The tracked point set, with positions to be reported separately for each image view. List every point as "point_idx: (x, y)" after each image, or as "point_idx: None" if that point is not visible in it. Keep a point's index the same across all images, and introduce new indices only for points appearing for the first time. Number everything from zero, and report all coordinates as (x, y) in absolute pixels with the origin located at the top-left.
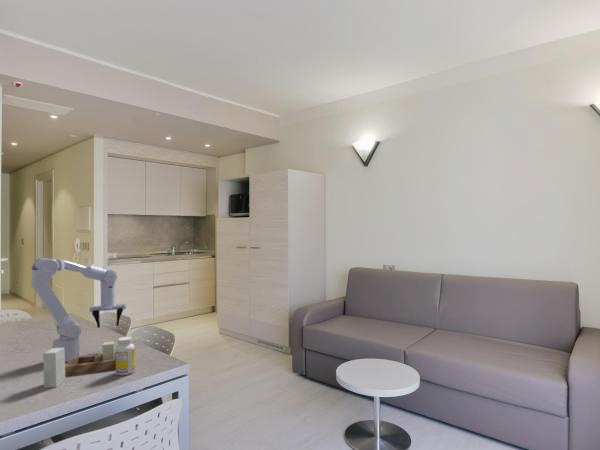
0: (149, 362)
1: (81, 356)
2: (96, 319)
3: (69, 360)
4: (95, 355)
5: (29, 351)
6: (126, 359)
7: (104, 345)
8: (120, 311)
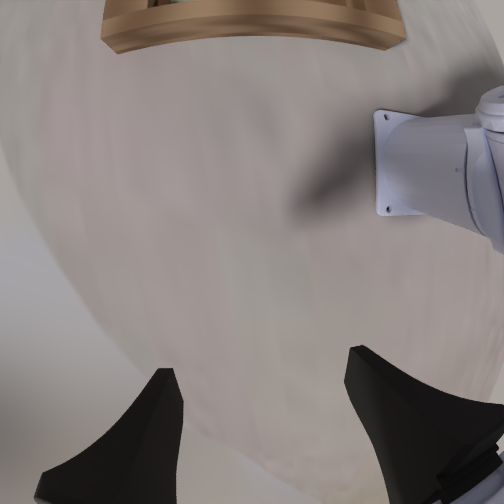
0: (39, 11)
1: (361, 26)
2: (424, 392)
3: (395, 1)
4: (282, 3)
5: (490, 328)
6: None
7: None
8: (49, 489)
